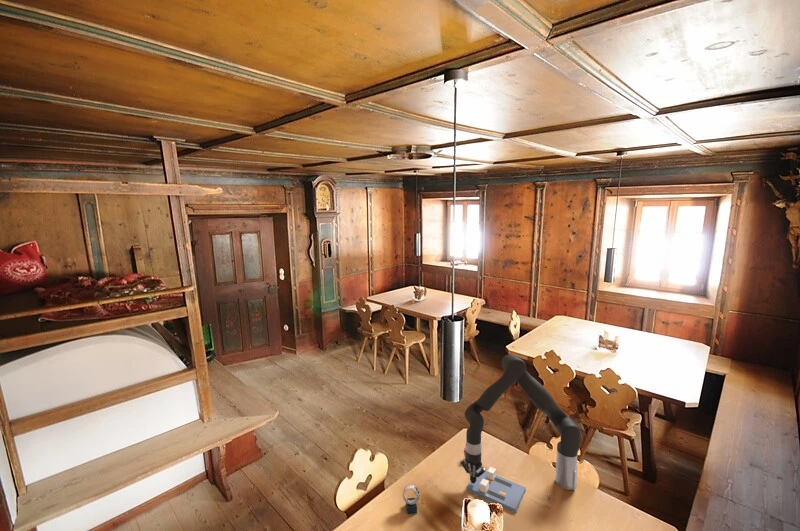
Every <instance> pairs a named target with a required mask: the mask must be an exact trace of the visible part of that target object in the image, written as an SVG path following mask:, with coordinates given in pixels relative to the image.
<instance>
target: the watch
mask: <svg viewBox="0 0 800 531" xmlns="http://www.w3.org/2000/svg"><path fill="white" fill-rule="evenodd" d="M409 490H412V491H413V494H414V495H415V497H410V498H409V497H407V496H406V495H405V494H406V492H408V491H409ZM402 498H403V501H404V502H405V508H406V513H407V515H413V514H418V505H417V504H418V502H419V500H420V499H421V493H420V490H419V489H418V486H416V484H415V485H414V484H409V485H407V486H405V487H404V488H403V491H402Z"/></svg>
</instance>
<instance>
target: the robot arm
mask: <svg viewBox="0 0 800 531" xmlns="http://www.w3.org/2000/svg"><path fill="white" fill-rule="evenodd" d="M501 367H502V368H503V371H504V373H503V374H502V375H501V376H500V378H499V379H498V380H496V381H495V382H494V383H492V384H491V385H489V386H488V387H487V388H486V389H485V390H484V391H483V393H481V395H480V396H479V398H478V399H477V400H475V401H474V402H473V403H471V404H470V405H469V406H468V407H467V408H466V410H465V411H464V418H465V419H466V421H467V422H468V424H469V427H468V428H467V429H466V434H465V435H466V441H465V447H466V452H465V458H463V459H462V460H461V461H460V464H461V465H462V467H463V469H464V471H465V472H466V473H467V474H469V482H470V481H471V483H473V484H474V483H475V482H476V481H477V477H479V476H481V475H482V474H483V473H484V472H485V471H487V468H486V467H484V466H483V462H482V432H483V429H484V424H485V423H484V422H485V420H484V417H483V415H482V414H481V412H483V411H485V412H489V411H490V410H491V409H492V408H493V407H494V406H495V404H496V403H497V401H498V400H499V399H500V397H502V395H503V394H504V393H505V392H507V390H508V389H509V388H511V387H512V385H513V384H515V383H517V384H518V385H519V386H520V388H521V389H522V391H523V392H524V394H525V395H526V396H527V398H528V399H529V401H531V402H532V404H533V405H534V406H535V407H536V409H538V410H539V411H540V412H542V413H543V414H544V415H546V417H548V419H549V420H550V421H551V423H552V424H553V426H554V427H555V428H556V430H557V432H558V434H559V436H560V441H558V443H557V444H556V461H555V484H557V486H558V487H560V488H561V489H563V490H567V491H574V492H575V491H576V487H577V484H578V483H577V482H578V453H579V451H580V449H581V448H580V447H581V436H582V435H581V434H582V433H581V430H580V428H579V427H578V426H577V423H575V421H574V420H573V419H572V418H571V417H570V416H569V415H567V414H566V413H565V412H564V411H563V410H562V409H561V408H560V407H559V405H558V403H557V402H556V400H555V399H554V398H553V396H552V395H551V394H550V392H549V391H548V390H547V389H546V388H545V386H543V385H542V383H541V382H539V381H538V380H537V379H536V378H535V377H534V376H532V375H531V374H530V372H528V371H527V370H526V369H527V366H526V363H525V361H524V360H523V359H521V358H520V357H518V356H516V355H514V354H506V355H504V357H502V359H501ZM479 468H480V471H479V472H478V473H477V470H478V469H479Z"/></svg>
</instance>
